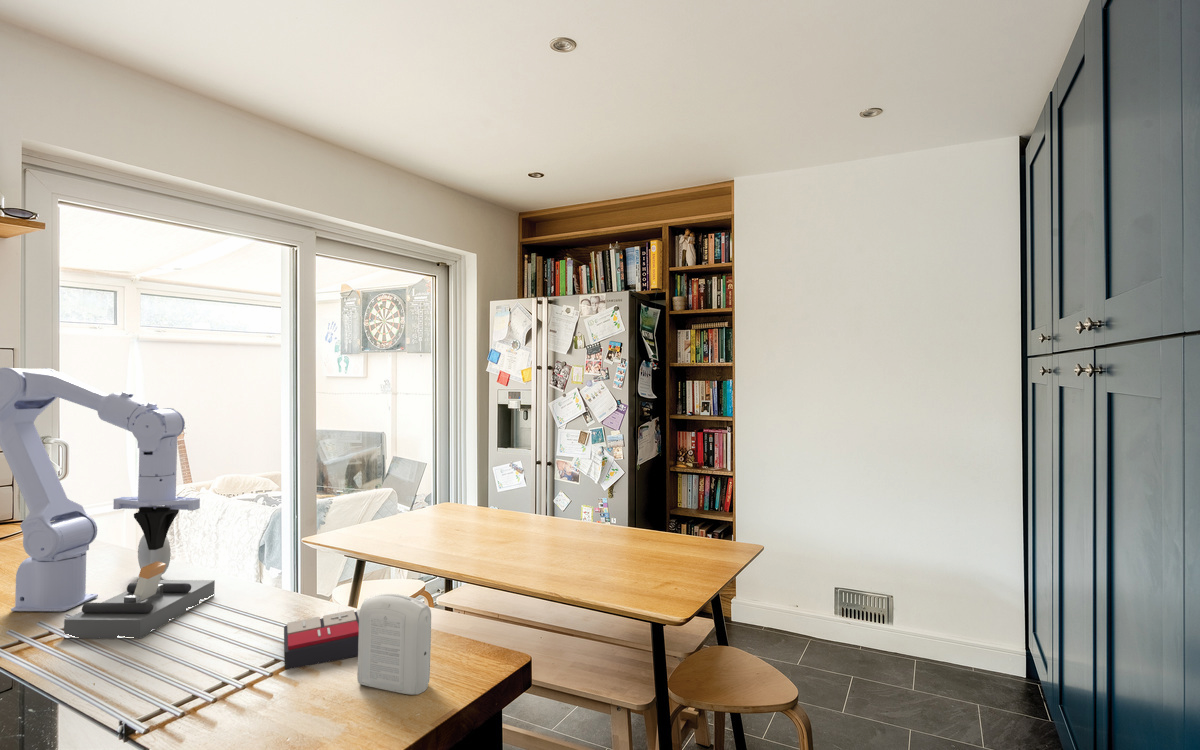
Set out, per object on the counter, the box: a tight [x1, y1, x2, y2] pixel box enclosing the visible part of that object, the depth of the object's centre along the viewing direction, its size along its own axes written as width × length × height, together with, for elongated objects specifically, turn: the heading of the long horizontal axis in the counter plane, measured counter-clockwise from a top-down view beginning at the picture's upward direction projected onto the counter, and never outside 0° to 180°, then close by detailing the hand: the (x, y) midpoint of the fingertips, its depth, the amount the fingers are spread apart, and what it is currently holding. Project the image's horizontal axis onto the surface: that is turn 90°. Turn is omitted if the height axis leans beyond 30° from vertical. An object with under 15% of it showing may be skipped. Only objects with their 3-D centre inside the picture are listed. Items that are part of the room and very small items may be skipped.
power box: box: [63, 579, 216, 640], centre depth 110 cm, size 12×20×5 cm, turn 1°
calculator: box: [283, 609, 360, 670], centre depth 99 cm, size 11×4×15 cm
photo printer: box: [356, 593, 432, 696], centre depth 86 cm, size 10×4×12 cm, turn 72°
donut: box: [137, 534, 172, 575], centre depth 131 cm, size 10×4×10 cm, turn 55°
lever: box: [134, 561, 166, 602], centre depth 108 cm, size 2×4×6 cm, turn 1°
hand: (155, 548), depth 115 cm, fingers closed
